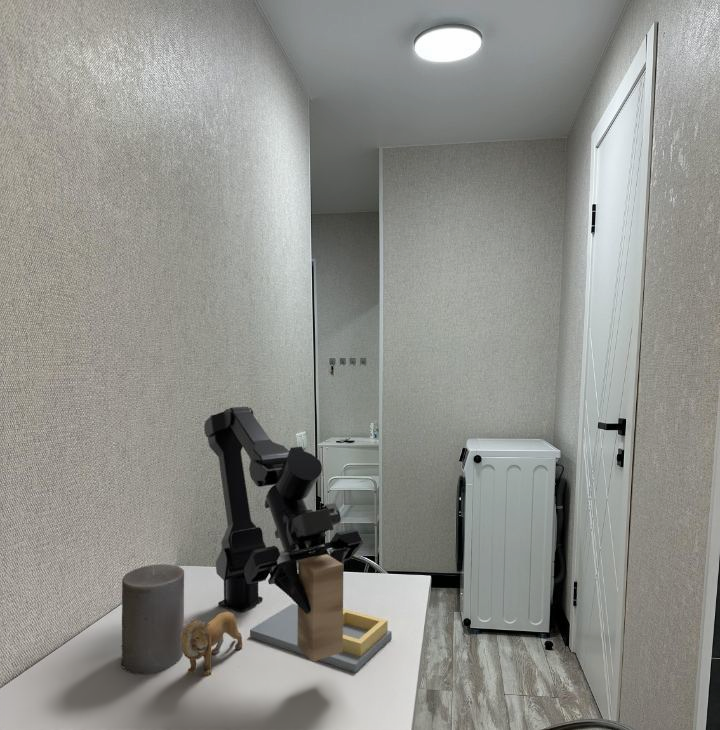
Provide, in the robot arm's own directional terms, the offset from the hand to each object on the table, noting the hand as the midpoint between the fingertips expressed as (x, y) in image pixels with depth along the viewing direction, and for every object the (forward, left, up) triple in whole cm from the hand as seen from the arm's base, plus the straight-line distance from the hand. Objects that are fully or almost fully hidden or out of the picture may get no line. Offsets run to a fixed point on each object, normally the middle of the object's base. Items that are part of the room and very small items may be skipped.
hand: (324, 607), depth 77 cm
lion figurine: (-19, -4, -12) cm, 23 cm away
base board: (-9, +12, -12) cm, 19 cm away
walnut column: (-1, 0, -7) cm, 7 cm away
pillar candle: (-29, -7, -12) cm, 33 cm away
